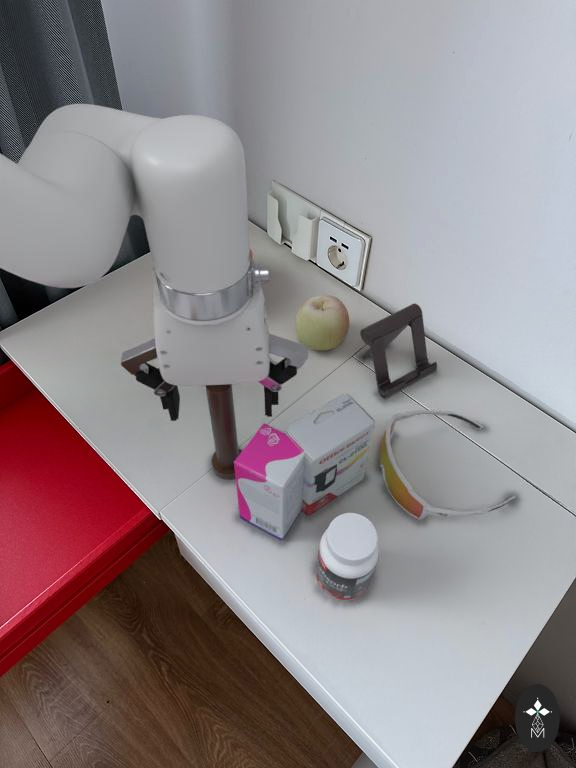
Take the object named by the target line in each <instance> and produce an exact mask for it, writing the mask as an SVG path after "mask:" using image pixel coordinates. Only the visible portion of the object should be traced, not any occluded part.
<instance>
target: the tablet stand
mask: <svg viewBox="0 0 576 768" xmlns="http://www.w3.org/2000/svg"><path fill="white" fill-rule="evenodd" d="M423 316H424V315H423V310H422V308H421V306H420V305H419V304H417V303H415V302H414V303H412V304H410V305H408V306H406V307H404V308H401V309H400V310H398V311H395V312H393V313H392V314H389V315H388V316H385V317H384V318H381V319H379V320H378V321H375V322H373V323H372V324H370V325H367V326H366V327H364V328H361V329H360V331H359V336H360V339H361V341H362V342H363V343H364V344H365V345H367V346H368V347H369V348H368V349H367V351H366V352H365V353H364V354H363V355H362V356H361V357H360V358H361V359H362V360H364V359H365V358H367V357H369V356H371V357H372V362H373V369H374V375H375V381H376V387H377V392H378V394H379V396H380V397H381V398H382V399H384V400H387V399H389V398H390V397H392V396H394V395H396V394H398V393H399V392H401V391H403V390H405V389H407V388H408V387H410V386H411V385H414V384H416V383H417V382H419V381H421V380H423V379H424V378H426V377H428V376H430V375H432V374H433V373H435V372H437V370H438V362H437V361H434V362H432V363H430V362H429V358H428V352H427V343H426V334H425V333H426V332H425V325H424V323H425V322H424V317H423ZM408 326H409V328H410V330H411V338H412V346H413V353H414V354H413V356H414V362H415V369H413V370H411V371H410V372H408V373H406V374H404V375H402V376H401V377H399V378H397V379H395V380H393V381H391V378H390V373H389V366H388V360H387V354H386V347H388V346H389V345H390V344H391V343H392V342H393V341H394V340H395V339H396V338H397V337H398V336H399V335H400V334H401V333H403V331H404V330H405V329H406V328H407V327H408Z"/></svg>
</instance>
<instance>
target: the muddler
mask: <svg viewBox="0 0 576 768" xmlns="http://www.w3.org/2000/svg"><path fill="white" fill-rule="evenodd" d="M204 386H205V392H206V393H205V394H206V400H207V404H208V405H207V406H208V412H209V417H210V424H211V431H212V436H213V442H214V449H215V452H214V453H213V454H212V456H211V460H210V461H211V467H212V468H211V469H212V471H213V473H214V474H215V476H216V477H218V478H219V479H222V480H225V481H231V480H236V476H235V468H234V461H235V460H236V458H237V457H238V456H239V455H240V453H241V452H242V451H243V450H241V449H240V448H239V441H238V432H237V431H238V430H237V422H236V421H237V419H236V411H235V401H234V392H233V384H225V385H204Z"/></svg>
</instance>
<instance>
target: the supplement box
mask: <svg viewBox="0 0 576 768" xmlns="http://www.w3.org/2000/svg"><path fill="white" fill-rule="evenodd" d="M289 437H290V436H289ZM289 437H288V436H287V435H286V434H285V432H283V431H281V430H279V429H277V428H275V427H273V426H271V425H269V424H266V423H264V422H263V423H262V425H261V426H260V427H259V428H258V429H257V431H256V432H255V434H254V435H253V437H251V439H250V440H249V442H248V443H247V444H246V446H245V447H244V448H243V450H241V451H242V452H241V453H240V455H239V456H238V457H237V458H236V460H235V461H234V468H235V476H236V478H235V482H236V483H235V485H236V494H237V503H238V504H237V505H238V512H239V518H240V519H242V520H243V521H245V522H246V523H249V524H250V525H252V526H254V527H255V528H257V529H259V530H261V531H263V532H265V533H267V534H269V535H270V536H272V537H274V538H277V539H278V540H280V541H284V539H285V538H286V536H287V534H288V533H289V531H290V529H291V528H292V526H293V525H294V523H295V521H296V520H297V518H298V517H299V516H300V514H301V512H303V511H302V502H303V485H304V466H305V455H304V453H306V452H305V451H304V450H303V449H302V448H301V447H300V446H299V445H298V444H297V443H296V442H295V441H294V440H293V439H292V438H291V437H290V438H291V439H292V440H291V439H290V438H289ZM295 444H296V445H297V446H298V447H299V448H300V449H301V450H302V451H303V452H304V453H303V452H302V451H301V450H300V449H299V448H298V447H297V446H296V445H295Z"/></svg>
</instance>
